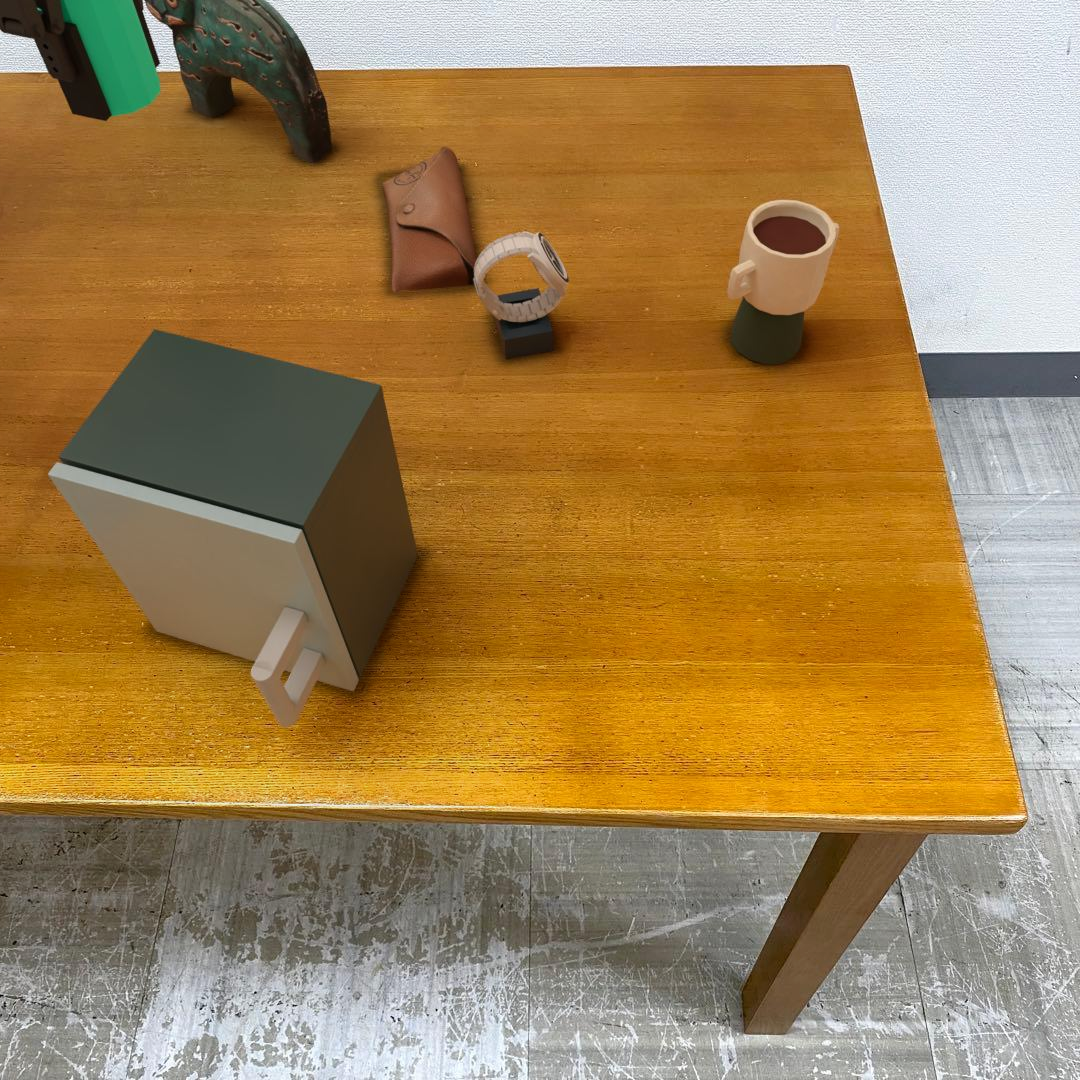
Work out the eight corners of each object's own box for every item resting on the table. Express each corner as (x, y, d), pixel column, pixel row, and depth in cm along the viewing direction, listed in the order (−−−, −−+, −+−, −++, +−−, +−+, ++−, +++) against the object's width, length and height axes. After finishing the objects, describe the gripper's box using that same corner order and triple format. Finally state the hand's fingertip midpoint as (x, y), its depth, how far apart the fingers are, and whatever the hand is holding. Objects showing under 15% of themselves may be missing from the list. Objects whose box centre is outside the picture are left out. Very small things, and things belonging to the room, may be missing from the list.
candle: (122, 125, 71) (52, -54, 61) (58, 101, 72) (-20, -77, 62) (179, 81, 74) (121, -97, 64) (116, 59, 75) (50, -118, 65)
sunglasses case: (375, 178, 104) (401, 124, 100) (437, 200, 108) (465, 149, 103) (391, 299, 94) (420, 246, 90) (459, 319, 98) (490, 268, 93)
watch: (574, 352, 91) (576, 255, 82) (486, 368, 90) (478, 272, 81) (559, 309, 94) (559, 211, 85) (474, 324, 93) (464, 227, 84)
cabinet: (361, 681, 73) (303, 525, 57) (167, 621, 76) (57, 456, 60) (419, 559, 79) (381, 385, 62) (236, 508, 82) (154, 328, 65)
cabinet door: (324, 760, 70) (251, 621, 54) (121, 695, 73) (-7, 545, 57) (360, 682, 73) (302, 529, 57) (165, 623, 76) (56, 461, 60)
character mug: (786, 298, 94) (815, 179, 84) (837, 345, 91) (874, 228, 80) (691, 343, 91) (708, 226, 81) (739, 394, 88) (764, 279, 77)
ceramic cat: (176, 115, 112) (109, -78, 95) (219, 86, 115) (161, -106, 98) (309, 179, 105) (263, -15, 89) (351, 147, 108) (313, -47, 91)
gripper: (-95, -239, 48) (90, 178, 67) (119, -369, 58) (227, 27, 77) (-224, -258, 49) (-7, 156, 68) (7, -382, 59) (140, 11, 78)
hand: (117, 87), depth 73 cm, fingers closed on candle, 6 cm apart
